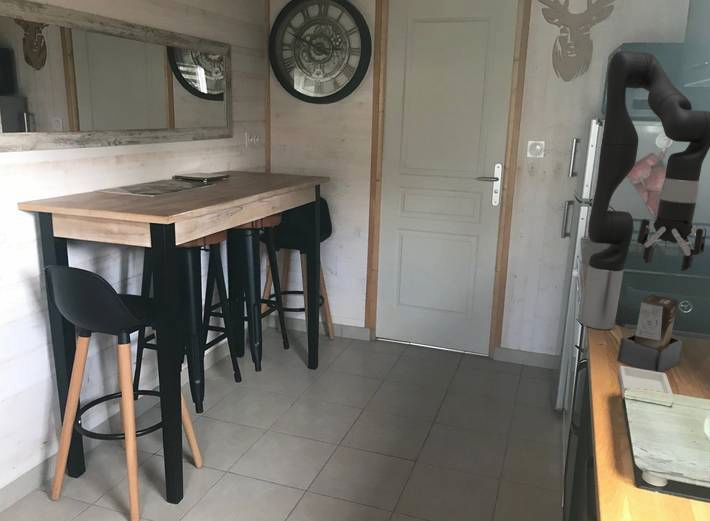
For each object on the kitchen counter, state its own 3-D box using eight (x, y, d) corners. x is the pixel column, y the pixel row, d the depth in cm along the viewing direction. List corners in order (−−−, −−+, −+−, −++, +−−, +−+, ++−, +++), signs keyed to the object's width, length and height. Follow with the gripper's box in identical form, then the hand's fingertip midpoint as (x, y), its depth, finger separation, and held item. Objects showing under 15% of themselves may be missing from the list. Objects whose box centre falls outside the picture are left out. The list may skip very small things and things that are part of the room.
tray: (618, 375, 141) (620, 365, 141) (663, 383, 138) (665, 373, 138) (622, 398, 130) (624, 387, 129) (671, 407, 127) (673, 396, 126)
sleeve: (617, 361, 150) (621, 338, 148) (641, 350, 158) (645, 328, 156) (656, 375, 143) (660, 351, 141) (679, 363, 150) (683, 340, 149)
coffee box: (657, 371, 145) (669, 307, 141) (629, 363, 149) (640, 301, 145) (666, 360, 152) (678, 299, 148) (639, 353, 156) (650, 293, 152)
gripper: (717, 202, 137) (704, 271, 141) (654, 194, 148) (643, 258, 152) (704, 204, 133) (690, 275, 137) (640, 195, 143) (629, 261, 147)
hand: (665, 266), depth 144 cm, fingers open, 8 cm apart
